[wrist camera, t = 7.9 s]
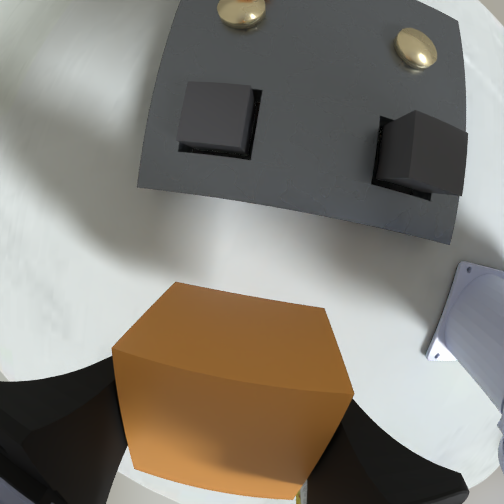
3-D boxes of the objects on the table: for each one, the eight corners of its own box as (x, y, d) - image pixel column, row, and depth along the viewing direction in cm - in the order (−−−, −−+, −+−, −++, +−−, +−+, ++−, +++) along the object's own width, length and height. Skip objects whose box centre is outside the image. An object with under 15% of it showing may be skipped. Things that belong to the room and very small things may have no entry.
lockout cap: (324, 308, 11) (354, 393, 6) (290, 413, 12) (292, 499, 7) (175, 281, 11) (111, 347, 6) (171, 391, 12) (134, 468, 7)
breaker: (428, 141, 13) (467, 133, 9) (421, 192, 14) (462, 196, 10) (382, 126, 13) (415, 109, 9) (375, 178, 14) (408, 177, 10)
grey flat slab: (442, 33, 12) (471, 10, 8) (430, 237, 16) (468, 252, 12) (203, -18, 13) (188, -53, 9) (155, 186, 17) (119, 188, 12)
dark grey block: (256, 107, 15) (250, 85, 11) (248, 156, 16) (240, 147, 12) (206, 103, 15) (187, 81, 11) (198, 150, 16) (176, 140, 12)
